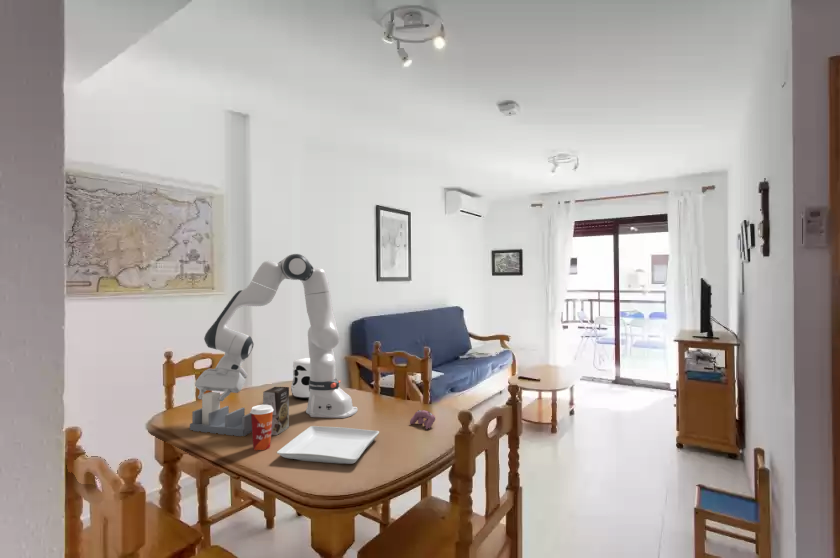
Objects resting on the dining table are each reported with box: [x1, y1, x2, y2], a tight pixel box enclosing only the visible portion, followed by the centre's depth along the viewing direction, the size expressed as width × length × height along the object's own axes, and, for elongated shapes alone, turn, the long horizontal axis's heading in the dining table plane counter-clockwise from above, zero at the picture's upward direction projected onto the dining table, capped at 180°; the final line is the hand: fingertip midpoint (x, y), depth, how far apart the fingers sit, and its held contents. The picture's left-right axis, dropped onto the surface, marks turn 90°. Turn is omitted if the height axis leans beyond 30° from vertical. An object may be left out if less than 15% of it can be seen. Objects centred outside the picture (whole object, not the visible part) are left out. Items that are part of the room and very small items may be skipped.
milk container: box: [290, 357, 310, 400], centre depth 220 cm, size 17×17×18 cm
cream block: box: [201, 391, 221, 425], centre depth 174 cm, size 4×4×12 cm
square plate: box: [276, 425, 380, 465], centre depth 152 cm, size 27×27×4 cm
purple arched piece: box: [409, 409, 436, 430], centre depth 177 cm, size 10×5×7 cm, turn 48°
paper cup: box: [249, 404, 274, 451], centre depth 153 cm, size 8×8×14 cm
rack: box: [189, 405, 252, 437], centre depth 172 cm, size 24×12×7 cm, turn 75°
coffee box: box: [262, 386, 290, 436], centre depth 170 cm, size 9×6×16 cm
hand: (209, 399), depth 174 cm, fingers open, 8 cm apart
